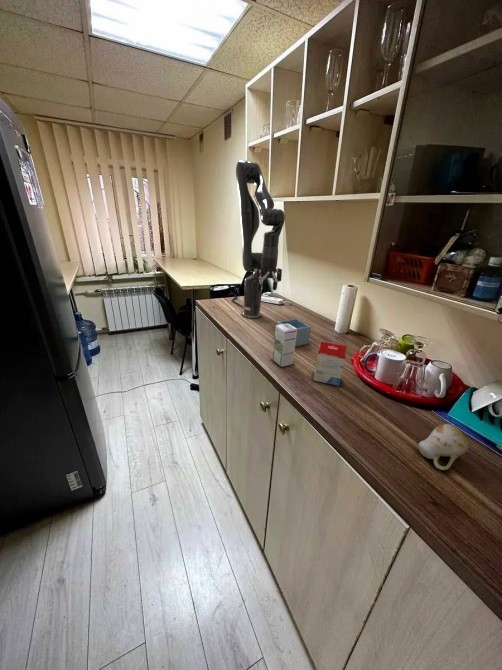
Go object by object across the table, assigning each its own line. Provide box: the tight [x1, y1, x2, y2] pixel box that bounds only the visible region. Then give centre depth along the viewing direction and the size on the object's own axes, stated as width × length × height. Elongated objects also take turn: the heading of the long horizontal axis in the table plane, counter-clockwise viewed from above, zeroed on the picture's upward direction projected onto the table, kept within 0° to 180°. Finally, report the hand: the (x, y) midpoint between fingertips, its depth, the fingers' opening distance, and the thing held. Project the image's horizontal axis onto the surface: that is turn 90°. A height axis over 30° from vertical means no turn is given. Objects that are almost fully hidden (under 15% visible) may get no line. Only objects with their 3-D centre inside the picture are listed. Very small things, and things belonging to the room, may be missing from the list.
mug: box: [418, 423, 469, 471], centre depth 64 cm, size 8×10×10 cm
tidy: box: [276, 318, 312, 347], centre depth 119 cm, size 11×11×8 cm
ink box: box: [313, 340, 348, 387], centre depth 90 cm, size 8×5×15 cm, turn 71°
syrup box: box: [272, 324, 297, 368], centre depth 99 cm, size 6×6×14 cm
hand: (266, 290), depth 132 cm, fingers open, 8 cm apart
